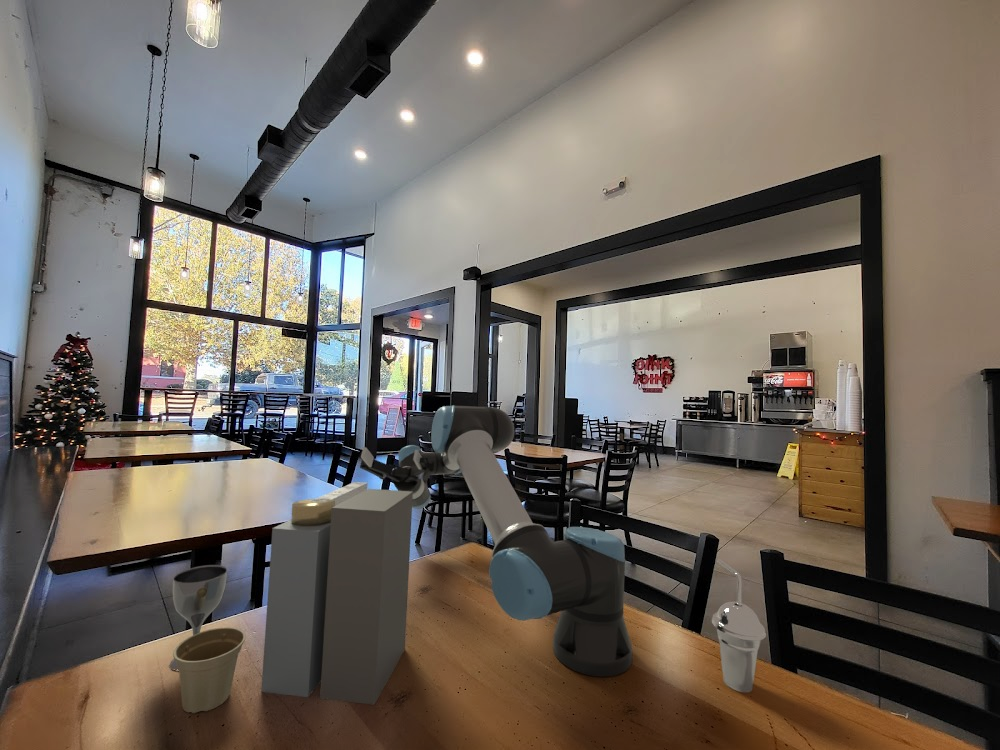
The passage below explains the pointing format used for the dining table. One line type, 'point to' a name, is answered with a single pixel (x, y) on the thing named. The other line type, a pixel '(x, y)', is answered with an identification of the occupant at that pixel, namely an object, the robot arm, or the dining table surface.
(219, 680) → the flower pot
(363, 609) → the tall stand
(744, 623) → the cup with straw
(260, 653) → the dining table surface
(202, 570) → the wine glass
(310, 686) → the short stand
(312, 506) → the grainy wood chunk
